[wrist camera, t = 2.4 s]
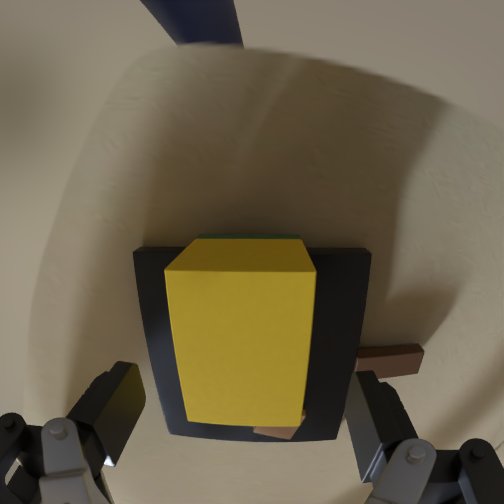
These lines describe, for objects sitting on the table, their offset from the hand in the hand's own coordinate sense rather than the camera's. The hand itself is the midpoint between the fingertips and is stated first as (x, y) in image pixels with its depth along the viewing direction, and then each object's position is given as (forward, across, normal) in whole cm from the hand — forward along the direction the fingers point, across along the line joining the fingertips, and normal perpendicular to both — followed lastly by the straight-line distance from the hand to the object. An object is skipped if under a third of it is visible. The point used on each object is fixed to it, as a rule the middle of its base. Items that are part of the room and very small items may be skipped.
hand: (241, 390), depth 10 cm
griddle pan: (+9, -2, +5) cm, 10 cm away
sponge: (+8, 0, 0) cm, 8 cm away
